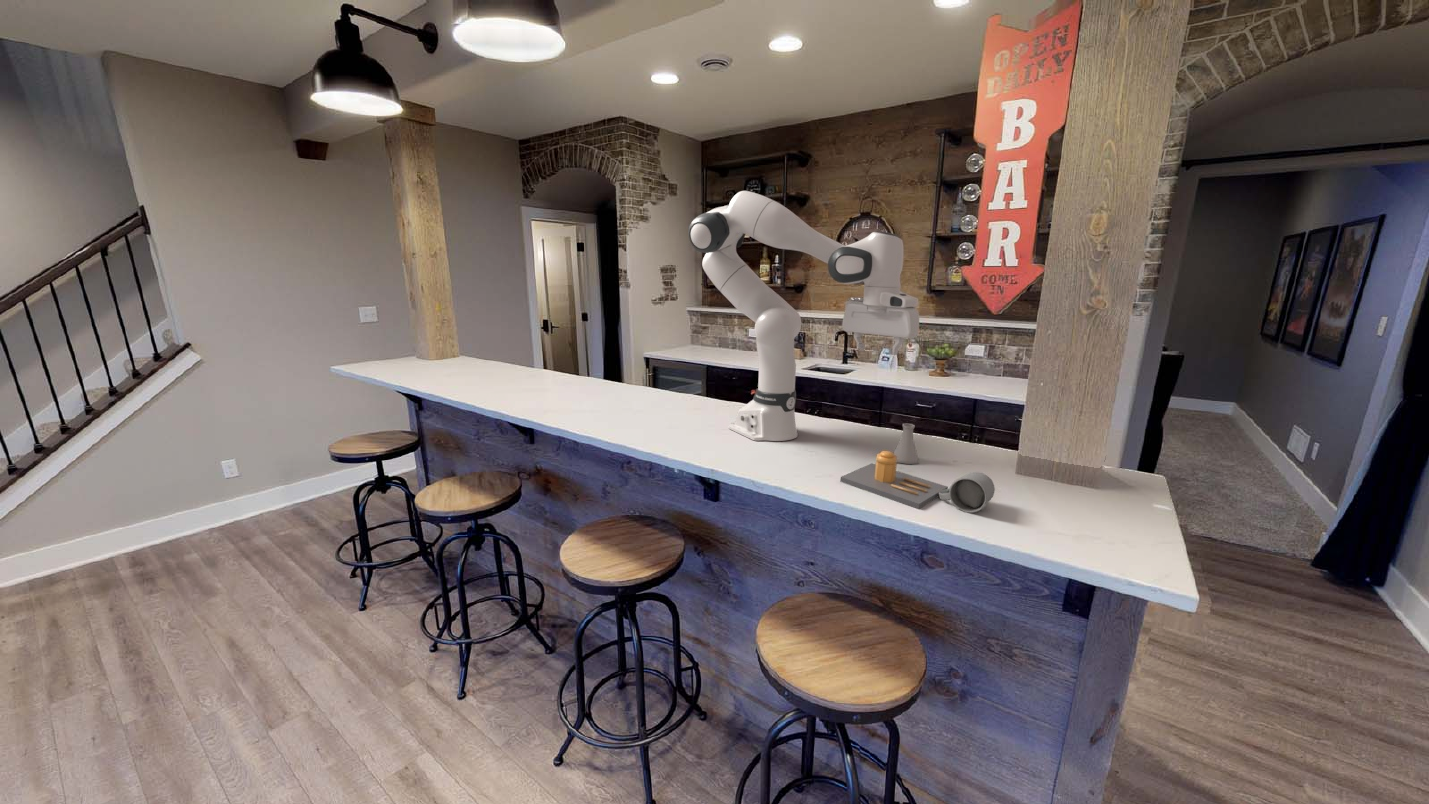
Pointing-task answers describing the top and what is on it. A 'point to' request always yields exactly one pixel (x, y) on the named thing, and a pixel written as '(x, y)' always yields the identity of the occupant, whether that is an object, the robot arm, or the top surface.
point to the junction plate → (895, 486)
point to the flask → (906, 446)
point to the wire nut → (886, 466)
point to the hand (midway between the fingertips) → (876, 352)
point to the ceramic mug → (970, 492)
